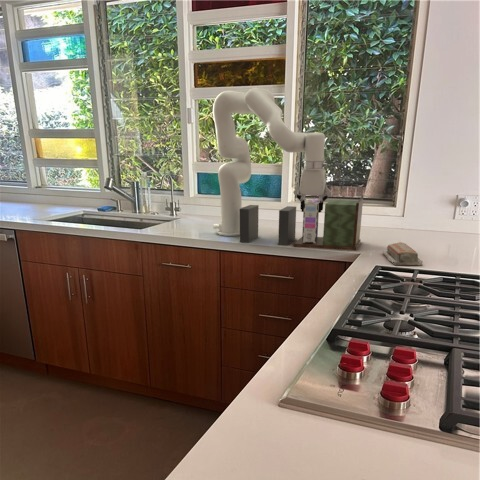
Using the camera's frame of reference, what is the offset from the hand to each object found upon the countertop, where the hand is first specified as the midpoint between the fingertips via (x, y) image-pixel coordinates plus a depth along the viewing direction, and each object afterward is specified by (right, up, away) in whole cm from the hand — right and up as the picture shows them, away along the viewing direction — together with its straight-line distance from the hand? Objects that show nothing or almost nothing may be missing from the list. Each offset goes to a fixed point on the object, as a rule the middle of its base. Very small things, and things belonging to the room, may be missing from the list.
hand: (311, 211), depth 191 cm
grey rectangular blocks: (-17, -10, +10) cm, 23 cm away
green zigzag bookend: (+7, -13, +2) cm, 15 cm away
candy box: (0, -11, +4) cm, 12 cm away
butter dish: (+29, -23, -23) cm, 44 cm away
